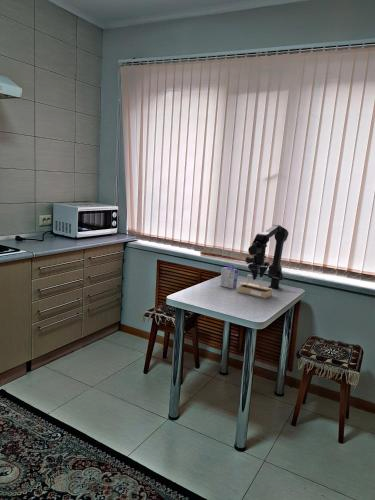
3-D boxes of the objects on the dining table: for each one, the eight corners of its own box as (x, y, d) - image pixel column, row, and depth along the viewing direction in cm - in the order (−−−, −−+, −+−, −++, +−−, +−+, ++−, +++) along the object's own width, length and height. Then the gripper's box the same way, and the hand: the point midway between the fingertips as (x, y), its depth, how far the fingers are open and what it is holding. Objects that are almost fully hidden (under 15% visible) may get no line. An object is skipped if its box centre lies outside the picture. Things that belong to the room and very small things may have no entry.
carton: (245, 289, 248) (245, 283, 248) (271, 295, 238) (272, 289, 237) (237, 292, 240) (238, 286, 239) (264, 298, 230) (265, 292, 229)
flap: (245, 283, 247) (247, 273, 247) (272, 289, 237) (274, 278, 237) (238, 283, 239) (240, 273, 239) (266, 289, 229) (268, 279, 229)
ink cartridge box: (236, 287, 252) (239, 265, 250) (233, 289, 247) (235, 266, 245) (223, 284, 257) (225, 263, 255) (219, 285, 252) (221, 264, 250)
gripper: (255, 250, 249) (252, 274, 251) (241, 253, 234) (238, 278, 236) (271, 253, 242) (268, 277, 245) (258, 256, 227) (255, 282, 230)
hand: (257, 278), depth 239 cm, fingers open, 9 cm apart
